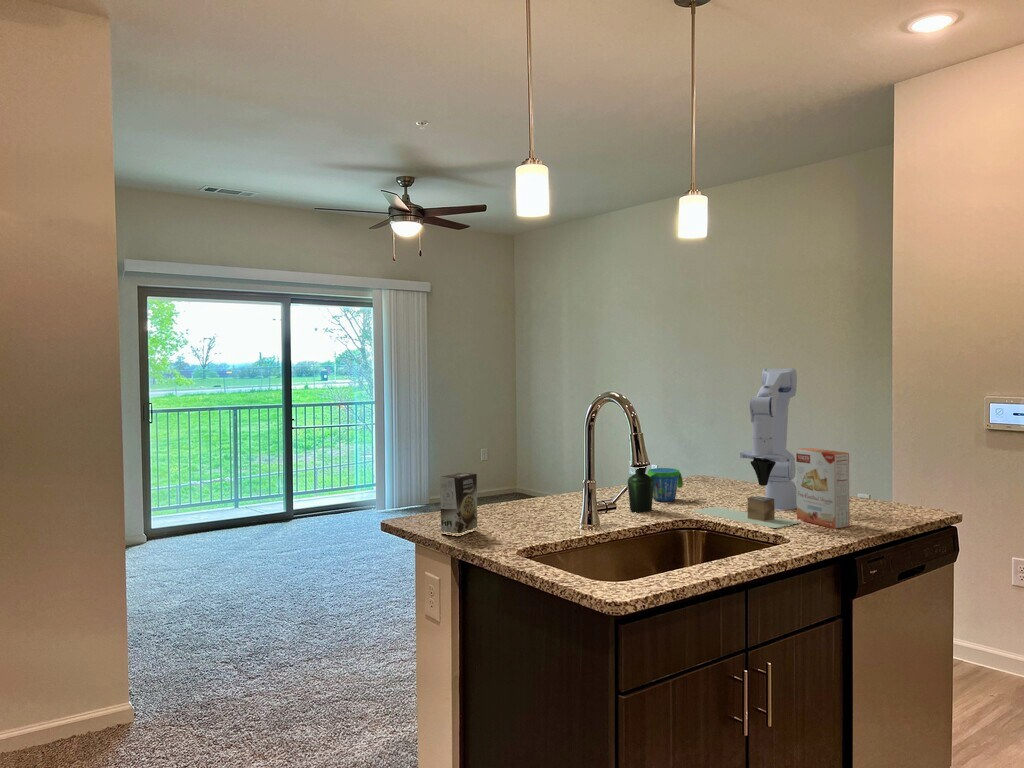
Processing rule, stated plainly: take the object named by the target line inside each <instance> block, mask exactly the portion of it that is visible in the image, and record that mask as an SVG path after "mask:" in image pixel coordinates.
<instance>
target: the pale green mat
mask: <svg viewBox="0 0 1024 768" xmlns="http://www.w3.org/2000/svg"><path fill="white" fill-rule="evenodd" d="M689 512H691V513H697V514H701V515H706V516H707V515H708V516H711V517H716V518H717V517H718V518H723V519H728V520H732V521H738V522H743V523H747V524H752V525H753V524H754V525H759V526H762V527H769V528H779V527H783V528H785V527H784V526H788V525H792V526H794V525H793V524H796V525H798V524H797V523H802V522H801V521H797V520H791V519H787V518H781V517H780V518H779V517H776V516H775V519H774V520H770V521H765V522H763V521H757V520H752V519H748V511H747V512H746V511H741V510H736V509H730V508H724V507H720V506H712V507H705V508H700V509H696V510H690V511H689ZM788 527H789V526H788ZM779 529H780V528H779Z"/></svg>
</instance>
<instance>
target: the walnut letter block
mask: <svg viewBox="0 0 1024 768" xmlns="http://www.w3.org/2000/svg"><path fill="white" fill-rule="evenodd" d="M775 511H776V510H775V508H774V499H773V498H767V497H766V496H758V495H757V496H752V497H747V512H748V519H752V520H757V521H763V522H765V521H770V520H774V519H775V517H776V516H775V515H776V514H775Z"/></svg>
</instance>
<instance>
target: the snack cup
mask: <svg viewBox="0 0 1024 768" xmlns="http://www.w3.org/2000/svg"><path fill="white" fill-rule="evenodd" d="M647 475H648V476H650V477H651V478H652V479H653V480H654V487H653V500H654V499H655V500H654V501H656V500H659V501H658V502H672V501H675V500H676V496H677V491H678V489H681V488H683V485H684V483H683V482H684V481H683V477H682V474H681V472H680V469H678V468H670V467H658V468H657V467H654V468H649V469H647ZM677 488H678V489H677Z"/></svg>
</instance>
